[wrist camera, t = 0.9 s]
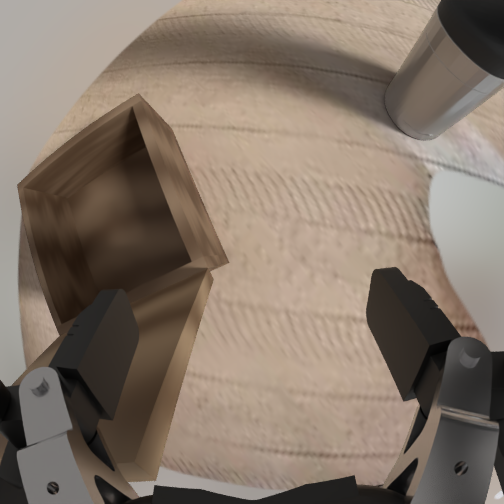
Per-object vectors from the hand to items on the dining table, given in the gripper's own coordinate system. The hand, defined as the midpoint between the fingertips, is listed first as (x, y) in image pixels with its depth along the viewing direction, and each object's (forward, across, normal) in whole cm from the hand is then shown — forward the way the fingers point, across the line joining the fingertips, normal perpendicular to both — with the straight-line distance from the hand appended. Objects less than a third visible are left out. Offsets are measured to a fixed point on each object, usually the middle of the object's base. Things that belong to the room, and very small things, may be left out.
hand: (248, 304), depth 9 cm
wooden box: (+25, +14, +6) cm, 29 cm away
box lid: (+3, +12, +7) cm, 14 cm away
